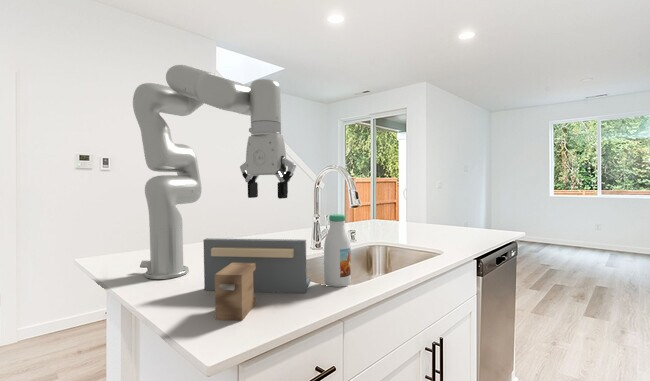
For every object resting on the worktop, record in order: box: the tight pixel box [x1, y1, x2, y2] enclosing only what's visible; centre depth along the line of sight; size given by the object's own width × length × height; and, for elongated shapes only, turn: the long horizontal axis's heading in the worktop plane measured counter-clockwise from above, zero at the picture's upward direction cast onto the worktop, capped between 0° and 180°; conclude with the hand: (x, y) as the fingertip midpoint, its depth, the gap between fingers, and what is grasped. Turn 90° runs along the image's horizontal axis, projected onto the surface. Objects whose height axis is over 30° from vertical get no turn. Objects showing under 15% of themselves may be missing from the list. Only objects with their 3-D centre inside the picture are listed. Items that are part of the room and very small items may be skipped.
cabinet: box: [214, 263, 257, 322], centre depth 77 cm, size 6×11×10 cm, turn 174°
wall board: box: [203, 237, 312, 294], centre depth 95 cm, size 28×12×14 cm, turn 84°
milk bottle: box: [323, 213, 352, 288], centre depth 97 cm, size 8×8×20 cm
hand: (267, 197), depth 86 cm, fingers open, 9 cm apart
